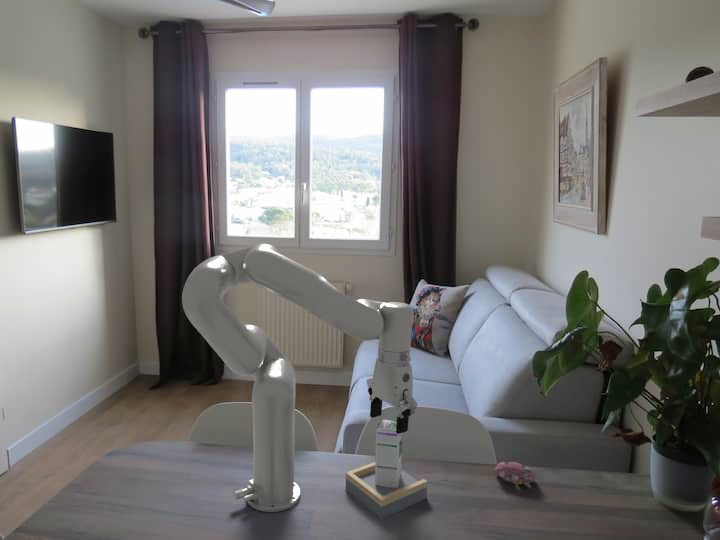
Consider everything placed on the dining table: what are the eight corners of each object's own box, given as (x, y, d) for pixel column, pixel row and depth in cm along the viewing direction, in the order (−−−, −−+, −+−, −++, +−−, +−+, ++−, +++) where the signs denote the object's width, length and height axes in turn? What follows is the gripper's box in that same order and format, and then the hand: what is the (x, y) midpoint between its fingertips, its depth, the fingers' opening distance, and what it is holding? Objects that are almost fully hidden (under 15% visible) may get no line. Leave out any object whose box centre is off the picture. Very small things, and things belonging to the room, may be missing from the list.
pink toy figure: (493, 484, 134) (494, 468, 131) (495, 469, 138) (496, 453, 134) (533, 493, 131) (535, 476, 127) (534, 477, 135) (536, 460, 131)
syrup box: (398, 489, 123) (400, 431, 121) (373, 485, 124) (375, 428, 122) (401, 476, 129) (404, 421, 126) (378, 473, 130) (380, 418, 128)
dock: (381, 518, 117) (382, 500, 116) (345, 489, 128) (345, 472, 127) (426, 498, 125) (427, 481, 124) (389, 472, 136) (389, 456, 135)
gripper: (431, 364, 117) (424, 435, 120) (382, 343, 131) (377, 407, 133) (406, 368, 113) (400, 442, 115) (358, 347, 126) (354, 413, 129)
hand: (388, 424), depth 124 cm, fingers open, 9 cm apart
